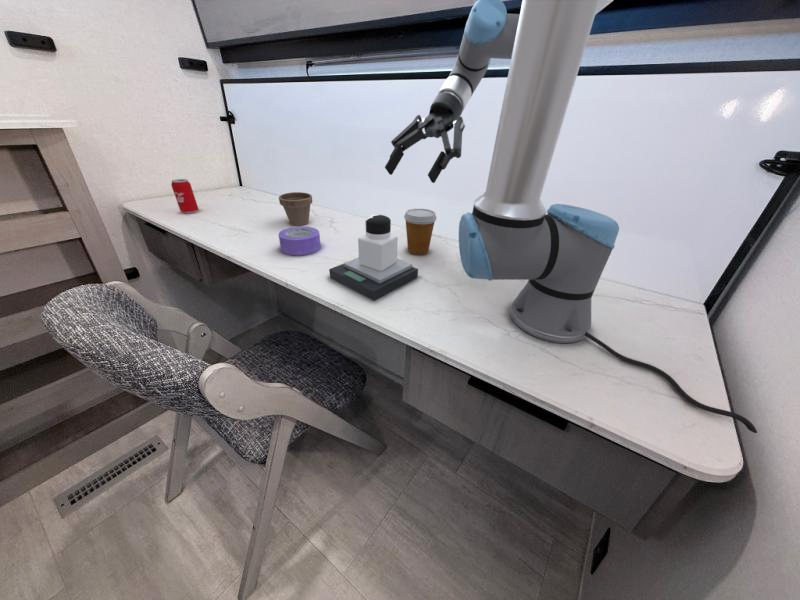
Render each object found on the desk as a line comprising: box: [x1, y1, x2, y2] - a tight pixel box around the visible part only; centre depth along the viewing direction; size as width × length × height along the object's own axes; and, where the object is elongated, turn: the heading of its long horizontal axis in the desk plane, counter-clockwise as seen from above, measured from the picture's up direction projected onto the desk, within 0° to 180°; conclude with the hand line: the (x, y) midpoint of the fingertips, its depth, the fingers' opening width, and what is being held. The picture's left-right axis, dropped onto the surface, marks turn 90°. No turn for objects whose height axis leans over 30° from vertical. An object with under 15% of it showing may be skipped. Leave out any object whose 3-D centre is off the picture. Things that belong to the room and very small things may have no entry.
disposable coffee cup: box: [403, 208, 438, 256], centre depth 91 cm, size 10×10×12 cm
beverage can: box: [170, 178, 199, 214], centre depth 119 cm, size 6×6×12 cm
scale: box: [328, 256, 419, 302], centre depth 78 cm, size 16×16×4 cm
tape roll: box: [277, 225, 322, 256], centre depth 93 cm, size 12×12×5 cm
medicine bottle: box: [357, 214, 399, 271], centre depth 75 cm, size 7×7×12 cm
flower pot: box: [278, 191, 313, 227], centre depth 111 cm, size 12×11×10 cm
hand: (408, 175), depth 74 cm, fingers open, 13 cm apart
